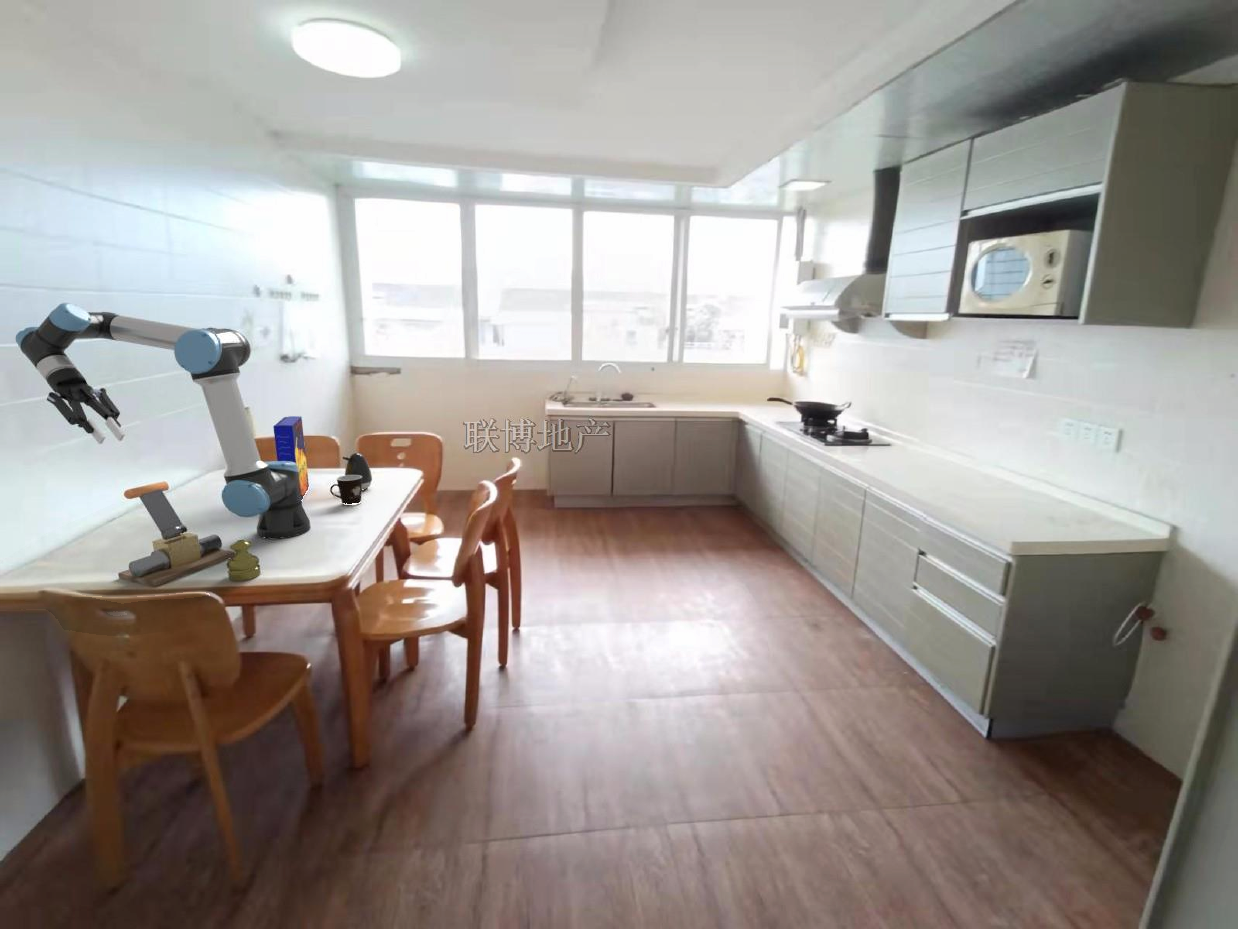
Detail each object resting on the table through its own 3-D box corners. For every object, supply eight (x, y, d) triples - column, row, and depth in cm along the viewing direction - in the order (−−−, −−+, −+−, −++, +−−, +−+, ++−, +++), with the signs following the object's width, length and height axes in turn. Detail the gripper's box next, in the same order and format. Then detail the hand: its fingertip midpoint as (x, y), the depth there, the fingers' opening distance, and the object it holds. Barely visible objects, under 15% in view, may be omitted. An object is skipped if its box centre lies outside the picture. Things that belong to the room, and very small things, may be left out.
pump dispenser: (341, 489, 244) (338, 452, 240) (367, 484, 250) (364, 449, 247) (350, 494, 236) (346, 456, 233) (376, 490, 243) (373, 453, 240)
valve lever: (152, 545, 158) (119, 493, 158) (190, 533, 168) (160, 484, 168) (157, 541, 157) (124, 488, 157) (195, 529, 167) (165, 479, 167)
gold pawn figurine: (266, 570, 164) (262, 536, 162) (251, 582, 157) (246, 546, 155) (239, 570, 164) (234, 535, 162) (222, 582, 157) (217, 545, 154)
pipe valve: (119, 578, 158) (113, 548, 156) (201, 549, 178) (196, 522, 176) (155, 587, 153) (149, 555, 151) (235, 556, 173) (231, 528, 171)
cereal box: (300, 504, 222) (292, 424, 216) (282, 506, 220) (273, 425, 214) (309, 489, 242) (301, 415, 236) (292, 490, 240) (284, 416, 234)
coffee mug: (361, 498, 231) (359, 473, 228) (366, 504, 224) (364, 478, 221) (328, 503, 225) (326, 477, 222) (332, 509, 218) (329, 482, 215)
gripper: (93, 382, 176) (140, 442, 174) (19, 387, 160) (71, 453, 158) (102, 364, 173) (150, 425, 171) (27, 368, 157) (80, 435, 155)
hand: (112, 438), depth 165 cm, fingers open, 4 cm apart
